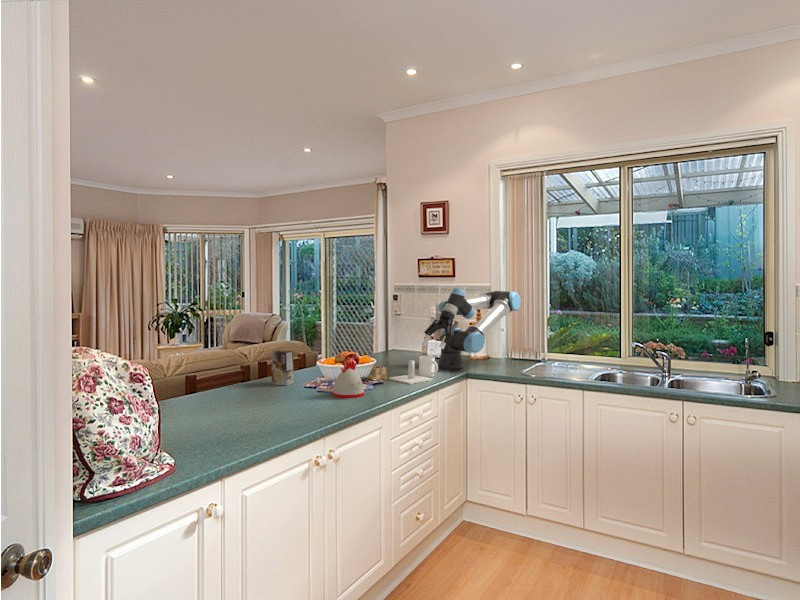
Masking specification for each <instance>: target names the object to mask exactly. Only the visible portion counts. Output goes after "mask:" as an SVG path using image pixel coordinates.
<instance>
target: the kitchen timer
mask: <svg viewBox="0 0 800 600" xmlns="http://www.w3.org/2000/svg"><path fill="white" fill-rule="evenodd" d="M356 367H357V363H355V362H354V361H352V362H351V361H346V363H345V364H343V367H340V368H341V372H340V373H339V374H338V376H337V377H336V378H335V380H334V381H335V382H334V384H333V387H332V397H334V396H335V397H334V398H337V397H339V398H338V399H344V398H352V399H358V397H359V398H362V397H364V396H365V390H364V389H365V388H364V384H363V380H362V378H361V377H360V376H359V374H358V373H357V372H356Z"/></svg>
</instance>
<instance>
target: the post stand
mask: <svg viewBox="0 0 800 600" xmlns="http://www.w3.org/2000/svg"><path fill="white" fill-rule="evenodd" d="M415 363H416V362H415V360H413V359H412V360H411V359H409V360H408V363H407V364H408V366H407V368H408V369H407V370H408V371H407V373H408V374H404V375H398V376H391V377H389V378H388V379H389V381H393V380H394V382H397V381H398V383H402V382H403V383H402V384H406V383H407V384H406V385H410V384H411V385H415V384H414V383H417V384H421V383H420V382H423V383H427V382H426V381H428V382H433V381H434V378H433V377H423V376H419V374H415V373H416V372H415ZM432 380H433V381H432Z"/></svg>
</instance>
